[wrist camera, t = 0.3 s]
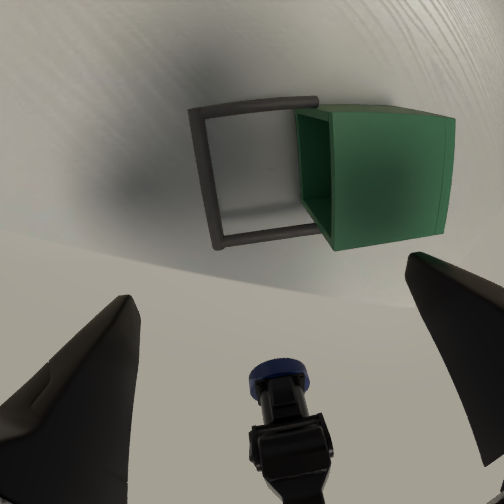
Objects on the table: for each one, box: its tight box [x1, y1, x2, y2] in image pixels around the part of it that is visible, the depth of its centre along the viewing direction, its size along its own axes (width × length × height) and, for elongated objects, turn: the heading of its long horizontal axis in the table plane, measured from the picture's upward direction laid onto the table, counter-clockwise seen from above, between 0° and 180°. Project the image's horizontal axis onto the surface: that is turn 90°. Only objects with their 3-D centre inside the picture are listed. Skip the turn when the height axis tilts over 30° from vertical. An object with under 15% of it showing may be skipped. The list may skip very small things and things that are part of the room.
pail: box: [188, 96, 456, 251], centre depth 16 cm, size 14×8×7 cm, turn 96°
